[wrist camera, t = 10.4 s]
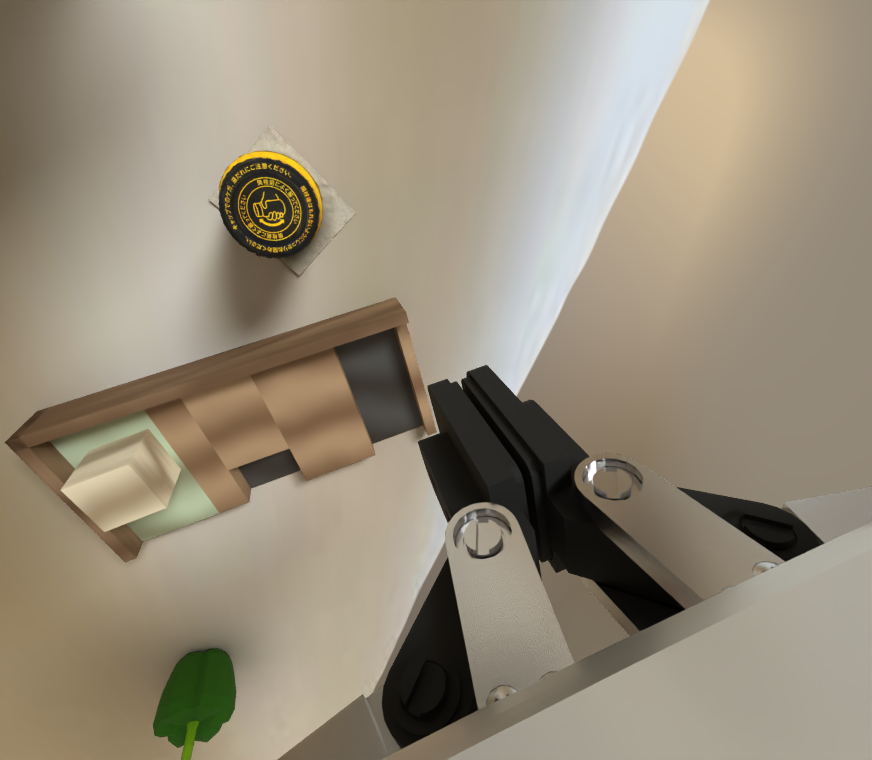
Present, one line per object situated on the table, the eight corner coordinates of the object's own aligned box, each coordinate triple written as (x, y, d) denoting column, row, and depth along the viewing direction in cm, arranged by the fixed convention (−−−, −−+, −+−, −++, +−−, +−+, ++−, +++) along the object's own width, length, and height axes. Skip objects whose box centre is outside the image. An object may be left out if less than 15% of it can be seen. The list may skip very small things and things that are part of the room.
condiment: (270, 124, 31) (257, 107, 20) (356, 212, 35) (380, 233, 25) (208, 199, 32) (167, 217, 21) (299, 275, 36) (300, 320, 26)
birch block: (88, 450, 35) (60, 490, 31) (148, 428, 36) (128, 464, 31) (126, 490, 38) (104, 532, 33) (181, 469, 38) (166, 507, 34)
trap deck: (36, 411, 35) (4, 442, 31) (395, 297, 39) (406, 312, 35) (140, 526, 43) (125, 562, 39) (430, 420, 47) (442, 442, 43)
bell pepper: (189, 634, 51) (168, 727, 43) (251, 645, 55) (243, 732, 47) (154, 675, 53) (127, 773, 44) (217, 683, 57) (203, 774, 49)
